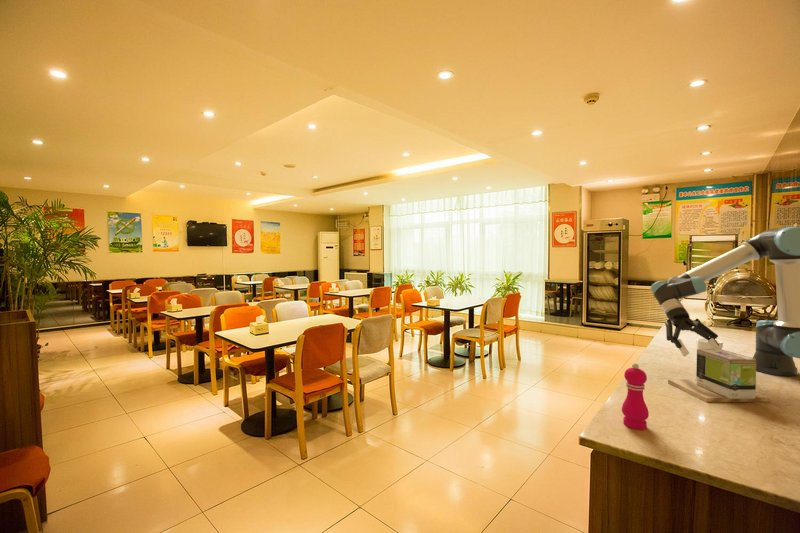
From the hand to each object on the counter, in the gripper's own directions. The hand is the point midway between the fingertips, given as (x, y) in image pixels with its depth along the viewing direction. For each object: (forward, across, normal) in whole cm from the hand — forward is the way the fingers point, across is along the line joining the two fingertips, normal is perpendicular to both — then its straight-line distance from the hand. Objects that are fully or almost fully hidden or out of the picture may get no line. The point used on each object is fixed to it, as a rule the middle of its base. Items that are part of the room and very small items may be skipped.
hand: (703, 354), depth 146 cm
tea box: (+15, 0, -2) cm, 15 cm away
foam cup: (-6, -22, -26) cm, 35 cm away
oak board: (+13, 0, -6) cm, 14 cm away
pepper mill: (+31, +48, +13) cm, 59 cm away
